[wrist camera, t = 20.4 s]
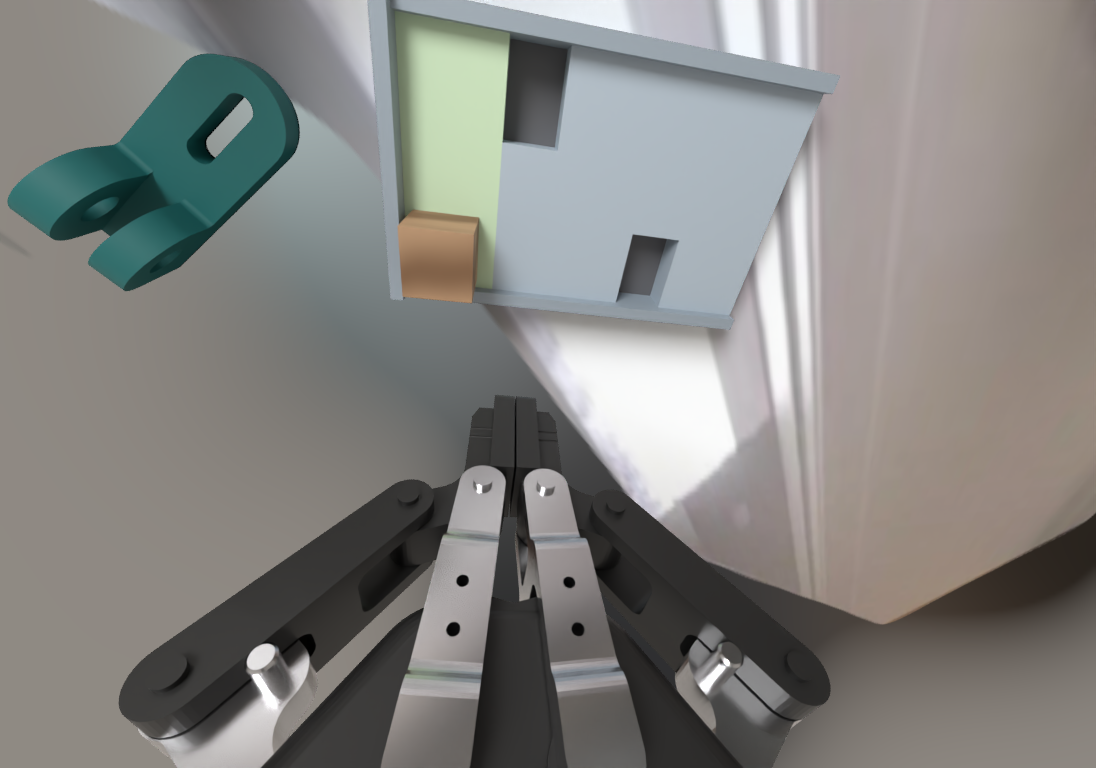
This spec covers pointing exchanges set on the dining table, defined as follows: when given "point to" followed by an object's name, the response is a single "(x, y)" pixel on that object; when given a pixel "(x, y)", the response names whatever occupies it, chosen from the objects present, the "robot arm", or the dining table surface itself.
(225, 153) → the bracket
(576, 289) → the tray
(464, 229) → the block
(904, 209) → the dining table surface
